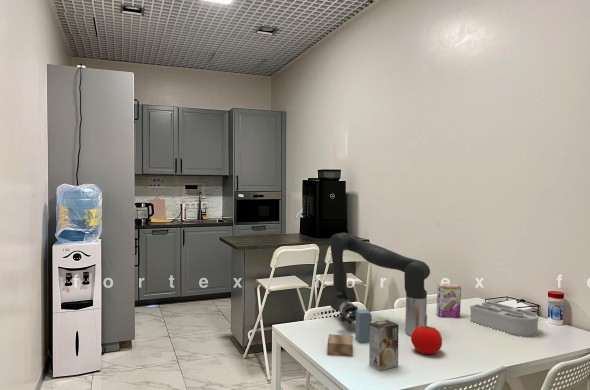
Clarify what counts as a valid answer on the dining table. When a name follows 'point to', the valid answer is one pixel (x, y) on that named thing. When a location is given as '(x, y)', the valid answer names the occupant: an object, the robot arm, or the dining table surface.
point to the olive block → (381, 319)
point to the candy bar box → (448, 300)
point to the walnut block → (340, 345)
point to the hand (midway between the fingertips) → (360, 322)
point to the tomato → (426, 339)
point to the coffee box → (383, 345)
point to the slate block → (363, 326)
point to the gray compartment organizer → (505, 319)
